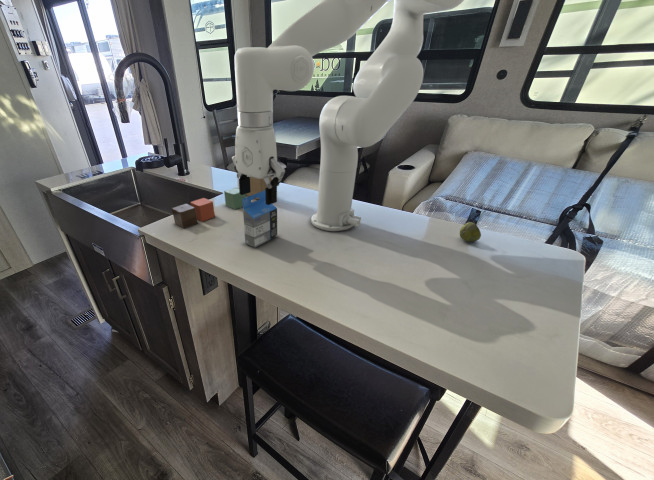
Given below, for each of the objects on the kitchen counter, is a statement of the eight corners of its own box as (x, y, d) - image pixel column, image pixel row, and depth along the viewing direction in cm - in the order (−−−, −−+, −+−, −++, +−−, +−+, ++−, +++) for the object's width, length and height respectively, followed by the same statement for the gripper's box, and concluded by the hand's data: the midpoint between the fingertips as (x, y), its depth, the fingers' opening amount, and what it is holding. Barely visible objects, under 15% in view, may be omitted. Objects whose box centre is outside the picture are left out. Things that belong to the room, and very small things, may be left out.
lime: (458, 235, 82) (465, 217, 79) (479, 240, 80) (487, 222, 77) (454, 242, 80) (461, 223, 77) (475, 247, 77) (483, 228, 74)
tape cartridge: (254, 248, 81) (252, 202, 73) (244, 244, 83) (241, 199, 76) (277, 236, 86) (277, 192, 78) (267, 232, 88) (266, 189, 80)
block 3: (246, 205, 105) (245, 190, 102) (234, 209, 102) (233, 194, 99) (237, 201, 108) (235, 187, 105) (225, 205, 105) (224, 191, 102)
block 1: (197, 223, 95) (194, 207, 92) (183, 228, 92) (180, 212, 89) (189, 218, 98) (186, 203, 95) (175, 223, 95) (171, 208, 92)
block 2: (215, 216, 98) (212, 201, 95) (201, 221, 96) (199, 206, 93) (206, 212, 101) (203, 197, 98) (193, 217, 99) (190, 202, 96)
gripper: (217, 118, 70) (224, 193, 80) (270, 127, 60) (270, 212, 70) (243, 115, 74) (246, 187, 84) (296, 122, 64) (293, 203, 74)
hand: (257, 198), depth 77 cm, fingers open, 9 cm apart
